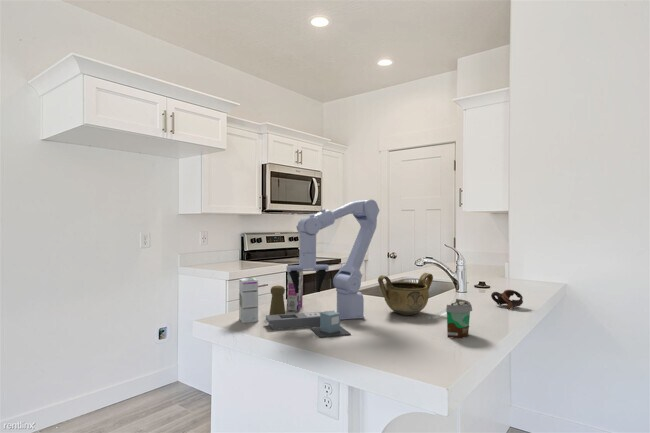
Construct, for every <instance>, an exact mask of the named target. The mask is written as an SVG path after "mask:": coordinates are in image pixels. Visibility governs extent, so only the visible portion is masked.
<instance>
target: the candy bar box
mask: <svg viewBox="0 0 650 433" xmlns="http://www.w3.org/2000/svg"><path fill="white" fill-rule="evenodd" d="M299 270H300V269H299ZM302 270H304V269H302ZM286 272H287V271H286ZM297 272H298V274H299V280H298V293H295V289H294V284H293V281H292V279H291V276H290V274H289V272H287V274H286V275H287V277H286V278H287V279H286V280H287V281H286V282H287V283H286V309H285V312H292V313H298V312H299V311H300V309H301V308H302V307H303V295H304V294H303V290H304V289H303V288H304V287H303V286H304V285H303V284H304V271H297Z"/></svg>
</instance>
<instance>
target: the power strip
mask: <svg viewBox="0 0 650 433" xmlns="http://www.w3.org/2000/svg"><path fill="white" fill-rule="evenodd" d="M327 311H328V310H323V311H316V312H301V313H300V312H299V313H298V312H295V313H285V314H280V315H269V314H268V315H267V314H266V315H265V320H266V322H267V323H268V325H269V327H270V329H271V330H287V329H300V328H313V327H320V313H322V312H327ZM332 311H333V310H332ZM333 312H335V311H333Z"/></svg>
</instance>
